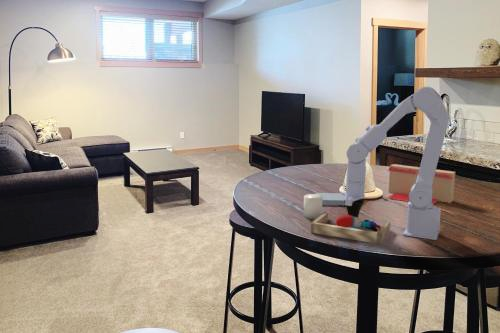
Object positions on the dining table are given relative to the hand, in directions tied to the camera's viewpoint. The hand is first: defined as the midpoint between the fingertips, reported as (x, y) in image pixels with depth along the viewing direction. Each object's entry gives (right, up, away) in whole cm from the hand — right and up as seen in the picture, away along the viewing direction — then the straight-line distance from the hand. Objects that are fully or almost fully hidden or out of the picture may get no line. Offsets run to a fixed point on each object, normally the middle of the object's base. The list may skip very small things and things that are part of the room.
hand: (353, 221), depth 140 cm
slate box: (-1, +4, +28) cm, 28 cm away
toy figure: (+1, -3, -4) cm, 5 cm away
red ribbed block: (+31, +5, +30) cm, 43 cm away
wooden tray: (-2, -2, -5) cm, 5 cm away
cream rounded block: (-11, +1, +11) cm, 16 cm away
